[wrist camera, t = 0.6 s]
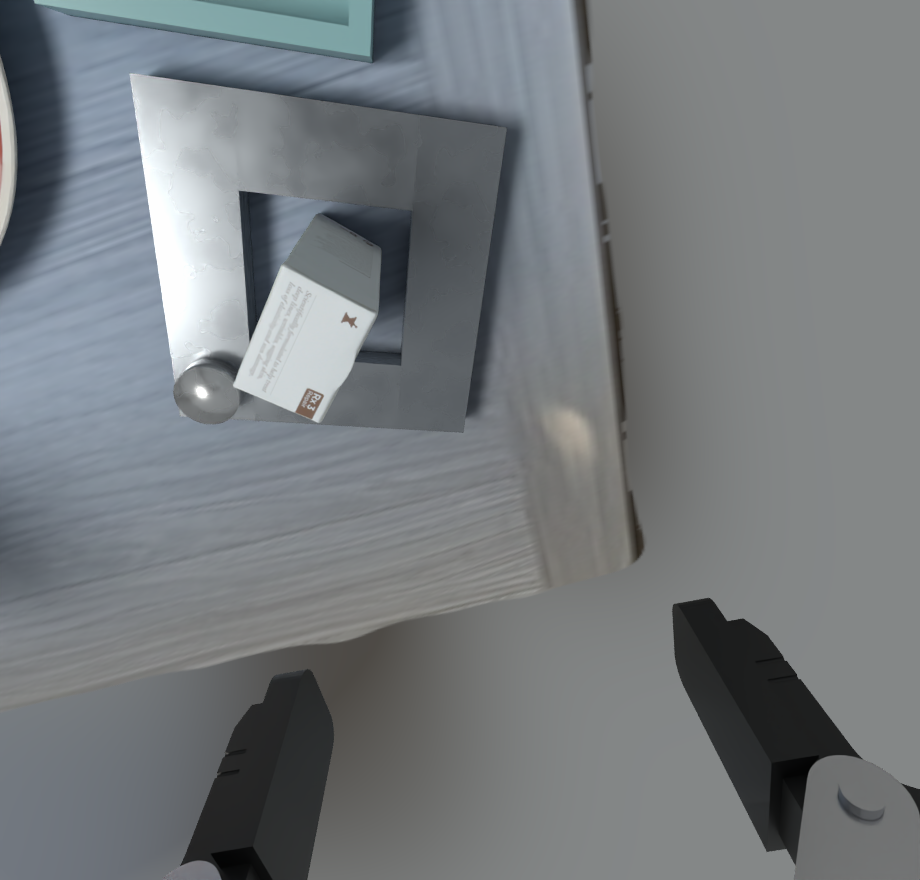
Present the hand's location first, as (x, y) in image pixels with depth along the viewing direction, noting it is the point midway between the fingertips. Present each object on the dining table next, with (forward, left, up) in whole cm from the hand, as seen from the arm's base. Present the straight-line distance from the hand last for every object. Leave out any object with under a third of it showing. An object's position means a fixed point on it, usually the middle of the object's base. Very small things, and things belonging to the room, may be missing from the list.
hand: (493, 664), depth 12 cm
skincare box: (-6, +2, -26) cm, 27 cm away
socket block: (-6, +2, -26) cm, 27 cm away
